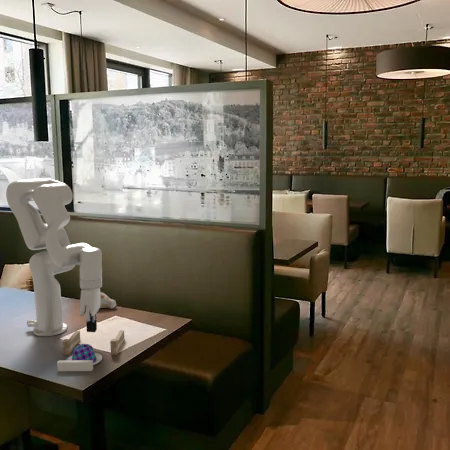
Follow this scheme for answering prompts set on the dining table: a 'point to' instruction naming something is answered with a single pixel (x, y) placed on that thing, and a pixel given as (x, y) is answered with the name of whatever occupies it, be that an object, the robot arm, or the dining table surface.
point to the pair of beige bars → (75, 338)
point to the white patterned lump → (106, 301)
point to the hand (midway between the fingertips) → (91, 331)
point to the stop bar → (75, 365)
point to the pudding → (85, 353)
